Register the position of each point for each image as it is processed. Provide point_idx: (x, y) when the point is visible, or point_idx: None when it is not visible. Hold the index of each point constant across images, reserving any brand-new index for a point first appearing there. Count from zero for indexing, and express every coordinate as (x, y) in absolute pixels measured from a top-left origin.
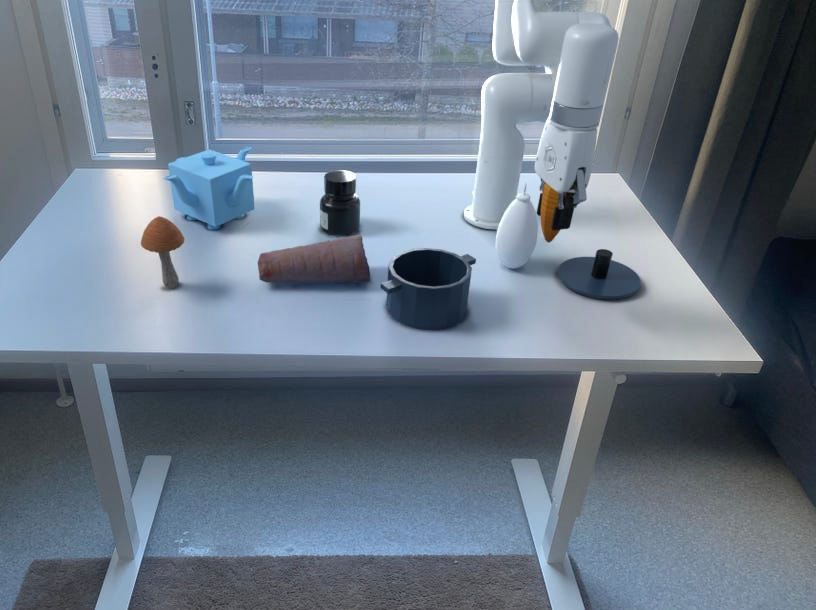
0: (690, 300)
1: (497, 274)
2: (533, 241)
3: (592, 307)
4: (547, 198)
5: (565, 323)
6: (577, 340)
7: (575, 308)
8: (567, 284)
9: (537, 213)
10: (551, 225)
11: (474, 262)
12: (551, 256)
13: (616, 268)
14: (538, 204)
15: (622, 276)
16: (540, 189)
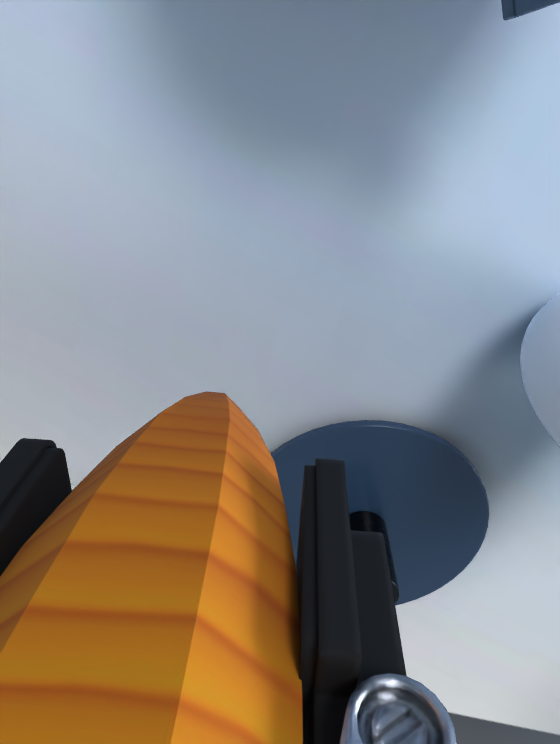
0: None
1: (544, 242)
2: (547, 427)
3: None
4: (3, 662)
5: (154, 312)
6: (52, 297)
7: (233, 385)
8: (347, 426)
9: (324, 464)
10: (31, 454)
11: (506, 7)
12: (552, 473)
13: None
14: (341, 530)
15: None
16: (424, 705)
